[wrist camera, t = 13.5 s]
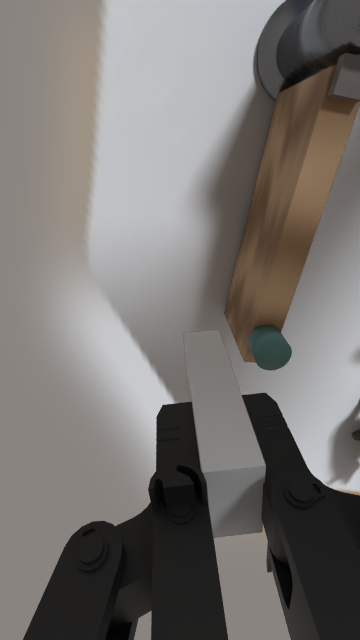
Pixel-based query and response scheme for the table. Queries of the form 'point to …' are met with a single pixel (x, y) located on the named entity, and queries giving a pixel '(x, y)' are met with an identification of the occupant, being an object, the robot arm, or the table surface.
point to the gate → (289, 206)
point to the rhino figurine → (356, 435)
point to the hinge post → (306, 41)
